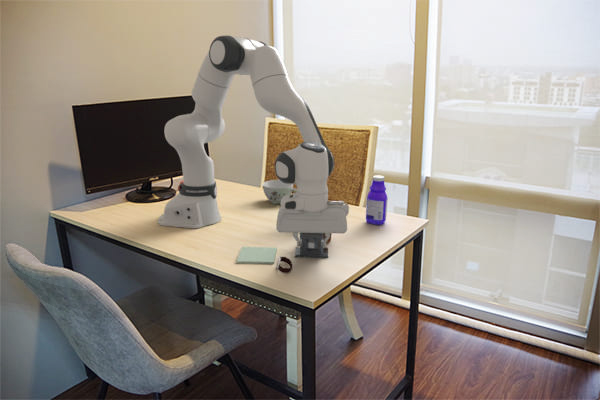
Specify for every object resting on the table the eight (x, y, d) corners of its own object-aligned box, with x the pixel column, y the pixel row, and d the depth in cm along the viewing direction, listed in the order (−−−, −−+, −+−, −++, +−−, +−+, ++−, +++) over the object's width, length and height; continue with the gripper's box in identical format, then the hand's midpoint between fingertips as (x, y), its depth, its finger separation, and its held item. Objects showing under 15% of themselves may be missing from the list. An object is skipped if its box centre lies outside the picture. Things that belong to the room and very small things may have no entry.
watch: (276, 263, 141) (275, 252, 140) (292, 263, 141) (292, 251, 140) (276, 275, 134) (276, 263, 133) (293, 274, 134) (293, 262, 133)
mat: (236, 263, 141) (236, 261, 140) (242, 248, 151) (242, 246, 151) (273, 263, 140) (273, 262, 140) (276, 249, 151) (276, 247, 150)
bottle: (387, 221, 175) (390, 175, 170) (383, 226, 170) (386, 179, 165) (368, 218, 178) (370, 173, 173) (363, 223, 173) (366, 177, 168)
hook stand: (293, 270, 136) (293, 237, 133) (295, 249, 150) (295, 219, 148) (328, 270, 136) (329, 238, 133) (327, 250, 150) (328, 219, 147)
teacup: (256, 203, 195) (256, 185, 193) (272, 196, 206) (271, 178, 204) (289, 209, 189) (289, 189, 186) (303, 200, 200) (303, 182, 197)
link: (301, 254, 138) (301, 234, 137) (302, 251, 140) (302, 231, 138) (320, 255, 138) (321, 234, 136) (320, 252, 140) (321, 231, 138)
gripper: (348, 197, 137) (346, 242, 141) (277, 196, 138) (277, 241, 142) (349, 204, 131) (348, 251, 135) (275, 203, 132) (275, 249, 136)
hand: (311, 246), depth 139 cm, fingers closed on link, 5 cm apart
